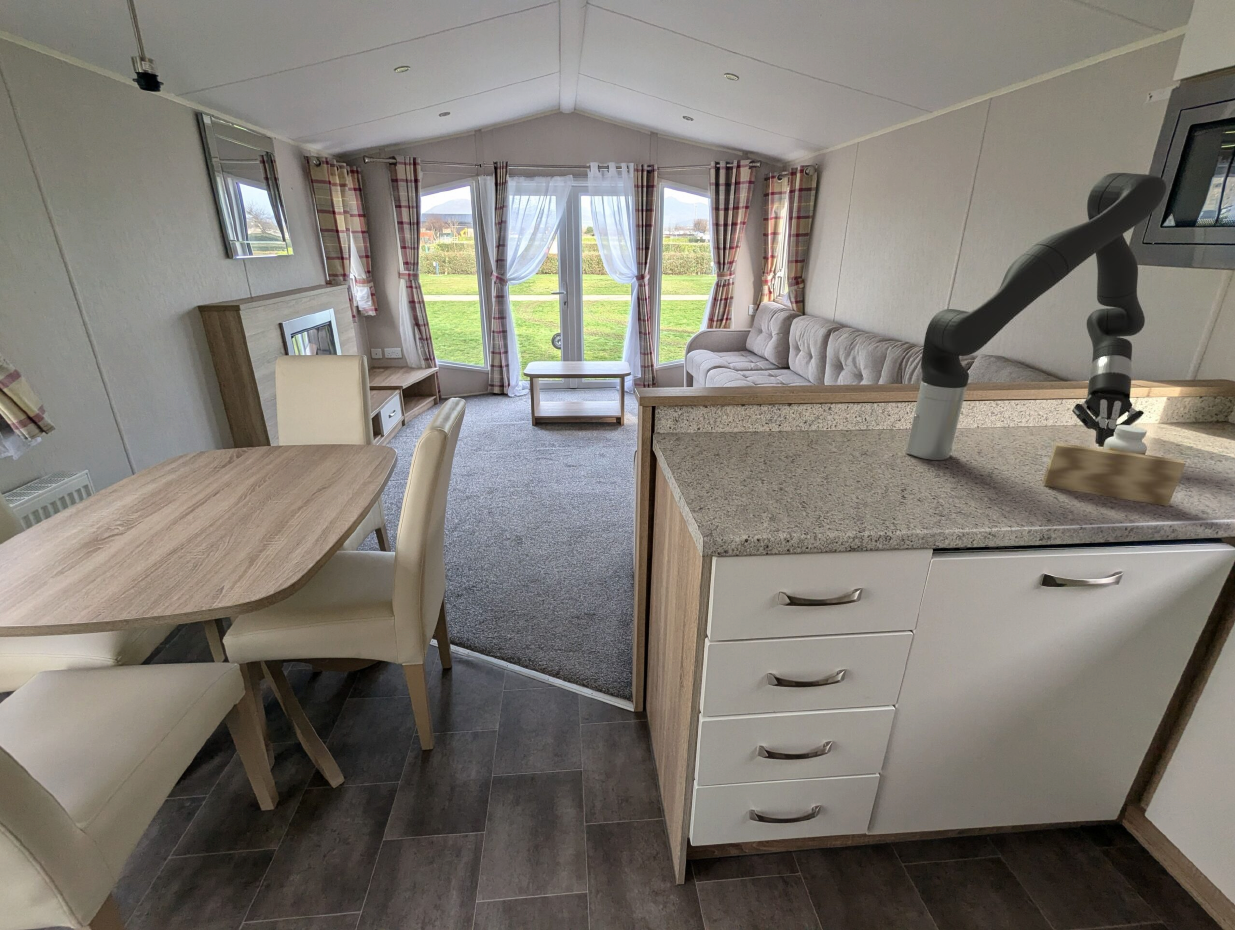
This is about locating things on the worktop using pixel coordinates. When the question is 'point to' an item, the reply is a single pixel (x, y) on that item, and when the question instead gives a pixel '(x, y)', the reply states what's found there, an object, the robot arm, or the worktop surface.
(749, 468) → the worktop surface
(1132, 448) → the supplement bottle
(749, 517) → the worktop surface
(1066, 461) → the wall board
